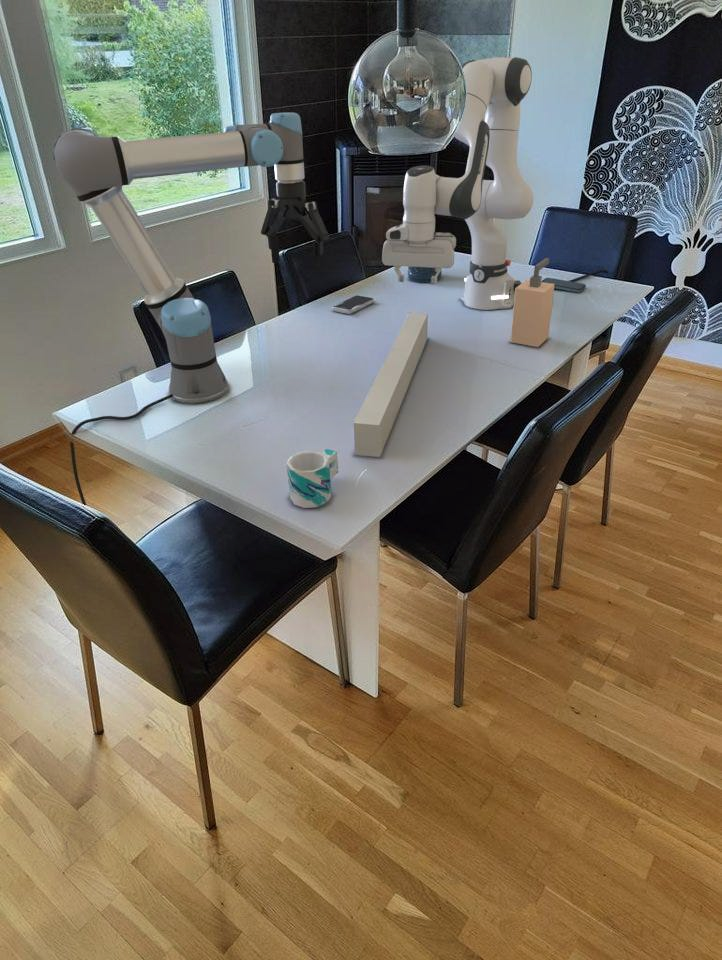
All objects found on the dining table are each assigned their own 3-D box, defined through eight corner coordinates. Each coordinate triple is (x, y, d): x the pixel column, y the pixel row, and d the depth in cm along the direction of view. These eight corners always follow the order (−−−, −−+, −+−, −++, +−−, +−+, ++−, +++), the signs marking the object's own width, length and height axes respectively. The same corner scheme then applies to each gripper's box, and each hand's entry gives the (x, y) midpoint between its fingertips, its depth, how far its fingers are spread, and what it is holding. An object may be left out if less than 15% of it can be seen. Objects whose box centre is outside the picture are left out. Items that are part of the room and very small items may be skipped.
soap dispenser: (538, 347, 195) (546, 271, 183) (510, 342, 199) (517, 267, 187) (552, 333, 204) (562, 259, 192) (525, 328, 208) (533, 256, 196)
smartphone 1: (374, 298, 234) (349, 310, 224) (374, 302, 235) (349, 314, 224) (356, 295, 238) (331, 307, 227) (356, 298, 238) (331, 310, 228)
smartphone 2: (580, 289, 234) (539, 282, 241) (579, 294, 235) (538, 286, 242) (587, 283, 240) (546, 276, 246) (586, 288, 240) (545, 281, 247)
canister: (414, 284, 250) (415, 235, 241) (403, 275, 261) (403, 227, 251) (446, 280, 253) (448, 231, 243) (434, 271, 264) (435, 224, 254)
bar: (379, 457, 146) (379, 425, 142) (355, 455, 147) (353, 422, 143) (427, 338, 204) (427, 313, 200) (409, 337, 205) (409, 312, 201)
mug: (282, 500, 133) (278, 464, 129) (317, 472, 142) (314, 437, 137) (316, 512, 129) (313, 475, 125) (350, 482, 138) (348, 447, 133)
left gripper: (339, 181, 171) (342, 265, 183) (259, 176, 181) (266, 256, 193) (324, 185, 165) (328, 272, 177) (242, 180, 176) (251, 262, 187)
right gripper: (458, 230, 184) (455, 281, 192) (385, 228, 189) (385, 277, 196) (454, 235, 179) (452, 287, 186) (380, 232, 184) (380, 283, 191)
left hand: (296, 264), depth 185 cm, fingers open, 13 cm apart
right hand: (417, 282), depth 191 cm, fingers open, 8 cm apart
